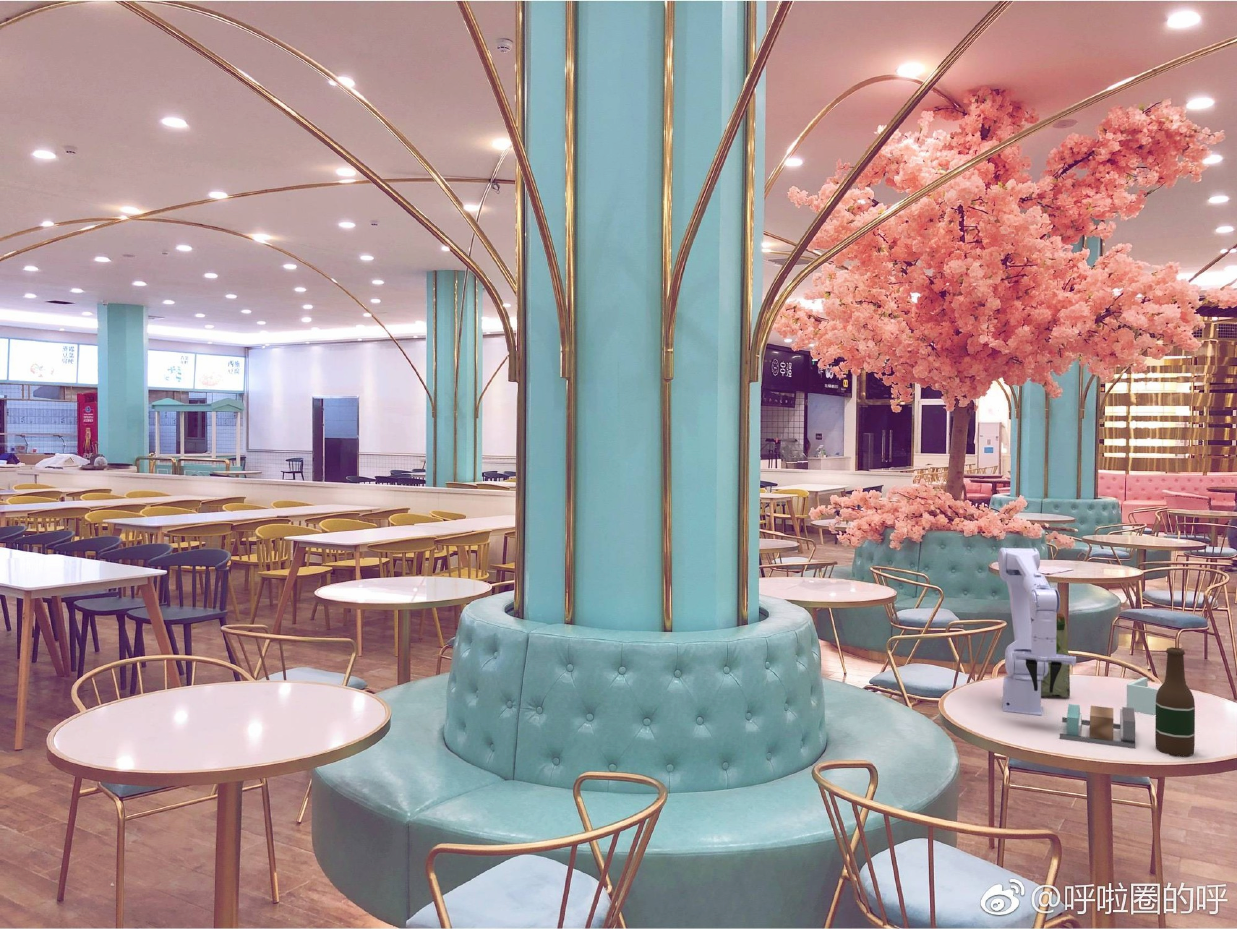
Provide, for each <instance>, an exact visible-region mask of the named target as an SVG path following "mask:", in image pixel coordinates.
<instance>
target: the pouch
mask: <svg viewBox="0 0 1237 929" xmlns="http://www.w3.org/2000/svg"><path fill="white" fill-rule="evenodd" d="M1056 613H1057V623H1056V654H1060V655H1067V656H1070V653H1069V649H1068V644H1069V631H1068V626H1067V620H1066V619H1067V616H1066V615H1065V614H1064V613H1062V612H1060V611H1059V612H1056ZM1031 624H1032V618H1031ZM1050 664H1051V663H1048V673H1047V675H1046V676H1045V677H1043V680H1041V697H1059V698H1060V697H1061V698H1070V697H1071V685H1070V684H1071V683H1070V681H1071V678H1070V671H1071V670H1070V665H1068V664H1062V666H1061V669H1060V671H1059V673H1058V675H1057V677H1056V680H1055V683H1054V686H1053V693H1050Z"/></svg>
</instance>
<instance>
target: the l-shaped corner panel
mask: <svg viewBox="0 0 1237 929" xmlns="http://www.w3.org/2000/svg"><path fill="white" fill-rule="evenodd" d="M1148 678H1149V677H1140V678H1138V679H1136V680H1134V681H1132V682H1129V683H1126V707H1127V708H1134V713H1139V712H1140V714H1144V715H1149V716H1154V715H1156V694H1157V692H1158V690H1159V688H1154V687H1148V684H1149V683H1148Z"/></svg>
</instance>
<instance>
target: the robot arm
mask: <svg viewBox="0 0 1237 929" xmlns="http://www.w3.org/2000/svg"><path fill="white" fill-rule="evenodd" d="M997 553H998V554H997V564H998V565H997V566H998V572H999V576H1000V579H1001V580H1002V581H1003V582H1005V583H1006V585H1007V590H1008V595H1009V596H1008V597H1009V602H1010V604H1009V605H1010V611H1011V612H1010V613H1011V622H1012V628H1013V629H1012V630H1013V637H1014V641H1013V642H1011V643H1010V644H1008V645H1007V646H1006V648H1005V652H1004V655H1005V657H1004V666H1005V671H1006V674H1007V675H1004V676H1003V681H1002V682H1003V684H1002V691H1003V692H1002V697H1001V698H1002V699H1001V701H1002V711H1003V712H1005V713H1006V712H1007V713H1016V714H1023V715H1031V716H1032V715H1033V716H1040V717H1041V716H1042V715H1043V712H1044V707H1043V706H1042V696H1041V680H1043V677H1045V676H1046V675H1047V673H1048V663H1051V664H1050V693H1053V686H1054V683H1055V680H1056V677H1057V675H1058V673H1059V671H1060V669H1061V666H1062V664H1068V665H1069V666H1074V667H1076V666H1077V656H1073V655H1069V656H1067V655H1060V654H1056V623H1057V613H1056V612H1059V613H1060V609H1061V597H1060V593H1059V590H1058V589H1057V588H1053V587H1051V585H1050V583H1049V582H1048V580H1047V577H1045V575H1044V574H1043V573H1041V572H1039V568H1040V566H1041V555H1040V551H1039V550H1038V549H1037V548H1036V547H1033V548H1026V547H1025V548H1024V547H1023V548H1017V547H1016V548H1013V547H1007V548H1006V547H1001V548H1000V549H999V551H998V552H997ZM1031 618H1032V624H1031Z"/></svg>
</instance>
